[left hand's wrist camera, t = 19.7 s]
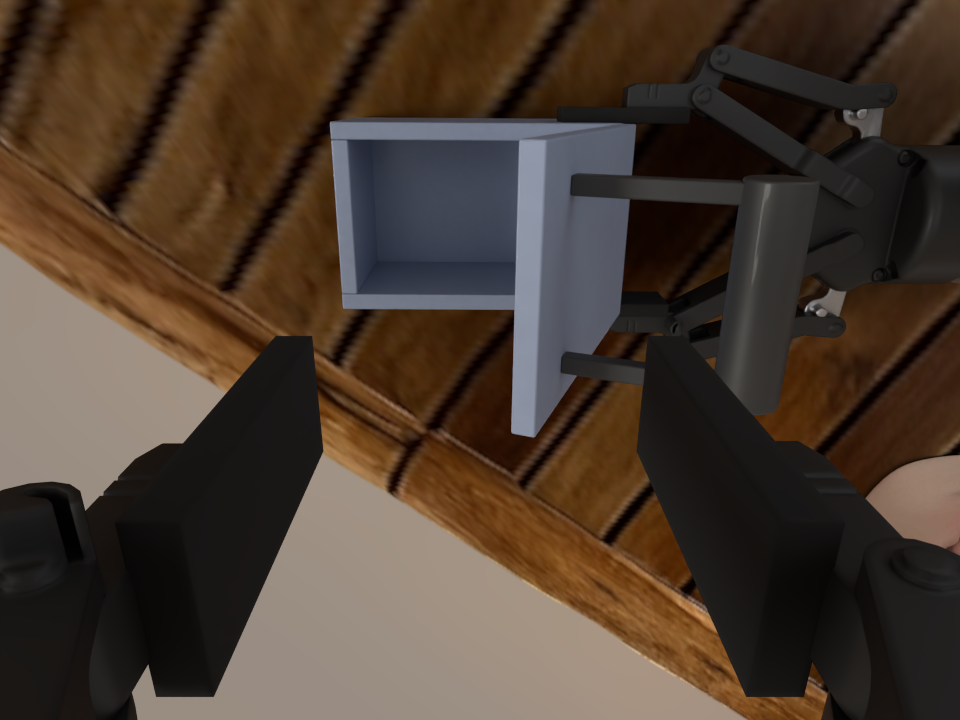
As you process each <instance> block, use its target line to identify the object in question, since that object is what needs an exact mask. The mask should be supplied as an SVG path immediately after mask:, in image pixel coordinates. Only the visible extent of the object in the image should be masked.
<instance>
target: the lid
mask: <svg viewBox="0 0 960 720" xmlns="http://www.w3.org/2000/svg"><path fill="white" fill-rule="evenodd" d="M635 133H636V125H635V124H616V125H609V126H603V127H596V128H590V129H583V130H576V131H570V132H563V133H557V134H550V135H543V136H537V137H530V138H524V139H520V141H519V164H518V202H517V239H516V277H515V314H514V352H513V389H512V426H511V432H512V433H513V434H518V435H524V436H529V437H535V436H536V434H537V433H538V432H539V430H540V429H541V427H542V426H543V424H544V423H545V421H546V420H547V418H548V417H549V416H550V414H551V413H552V411H553V410H554V408H555V407H556V405H557V404H558V402H559V401H560V400H561V398H562V397H563V395H564V394H565V392H566V391H567V389H568V388H569V386H570V385H571V384H572V382H573V381H574V379H575V378H576V376H582V377H589V378H595V379H602V380H608V381H615V382H622V383H628V384H635V385H641V386H643V382H644V371H645V362H640V361H632V360H625V359H618V358H611V357H604V356H597V355H591V354H592V353H593V352H594V350H595V349H596V347H597V346H598V344H599V343H600V341H601V340H602V339H603V337H604V336H605V334H606V333H607V331H608V330H609V328H610V327H611V325H612V324H613V323H614V321H615V320H616V318H617V317H618V315H619V314H620V305H621V294H622V282H623V271H624V259H625V248H626V236H627V225H628V214H629V202H630V199H634V200H651V201H669V202H686V203H703V204H721V205H738V206H739V207H738V214H737V221H736V227H735V234H734V241H733V248H732V255H731V262H730V268H729V275H728V282H727V289H726V296H725V302H724V309H723V316H722V323H721V330H720V337H719V343H718V350H717V357H716V364H715V372H716V374H717V375H718V376H719V377H720V378H721V379H722V380H723V382H724V383H725V384H726V385H727V386H728V387H729V389H730V390H731V391H732V392H733V393H734V394H735V395H736V397H737V398H738V399H739V400H740V401H741V402H742V404H743V405H744V406H745V407H746V408H747V409H748V411H749V412H750V413H751V414H752V415H765V414H769V413H772V412H774V411H775V410H776V409H777V408H778V405H779V399H780V394H781V389H782V384H783V378H784V373H785V368H786V362H787V357H788V352H789V346H790V341H791V336H792V331H793V325H794V320H795V315H796V309H797V304H798V299H799V293H800V288H801V283H802V277H803V272H804V267H805V262H806V256H807V251H808V246H809V240H810V235H811V230H812V224H813V219H814V214H815V209H816V203H817V198H818V193H819V187H820V181H819V180H817V179H815V178H810V177H802V176H790V175H749V176H745V177H744V178H743V180H720V179H698V178H676V177H654V176H632V168H633V156H634V145H635Z"/></svg>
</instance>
